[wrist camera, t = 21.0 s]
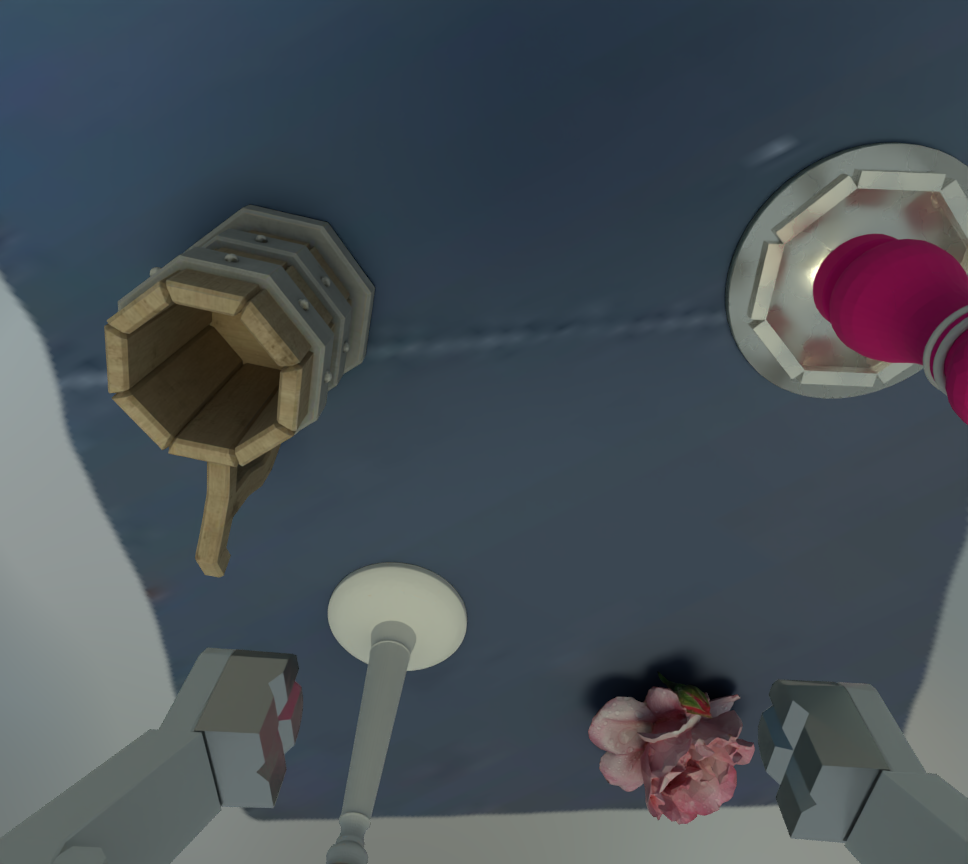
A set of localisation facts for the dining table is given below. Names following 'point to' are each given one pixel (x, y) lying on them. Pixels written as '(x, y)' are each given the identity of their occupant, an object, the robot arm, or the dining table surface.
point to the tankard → (238, 351)
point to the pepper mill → (900, 307)
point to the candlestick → (386, 669)
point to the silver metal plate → (814, 236)
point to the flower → (672, 748)
